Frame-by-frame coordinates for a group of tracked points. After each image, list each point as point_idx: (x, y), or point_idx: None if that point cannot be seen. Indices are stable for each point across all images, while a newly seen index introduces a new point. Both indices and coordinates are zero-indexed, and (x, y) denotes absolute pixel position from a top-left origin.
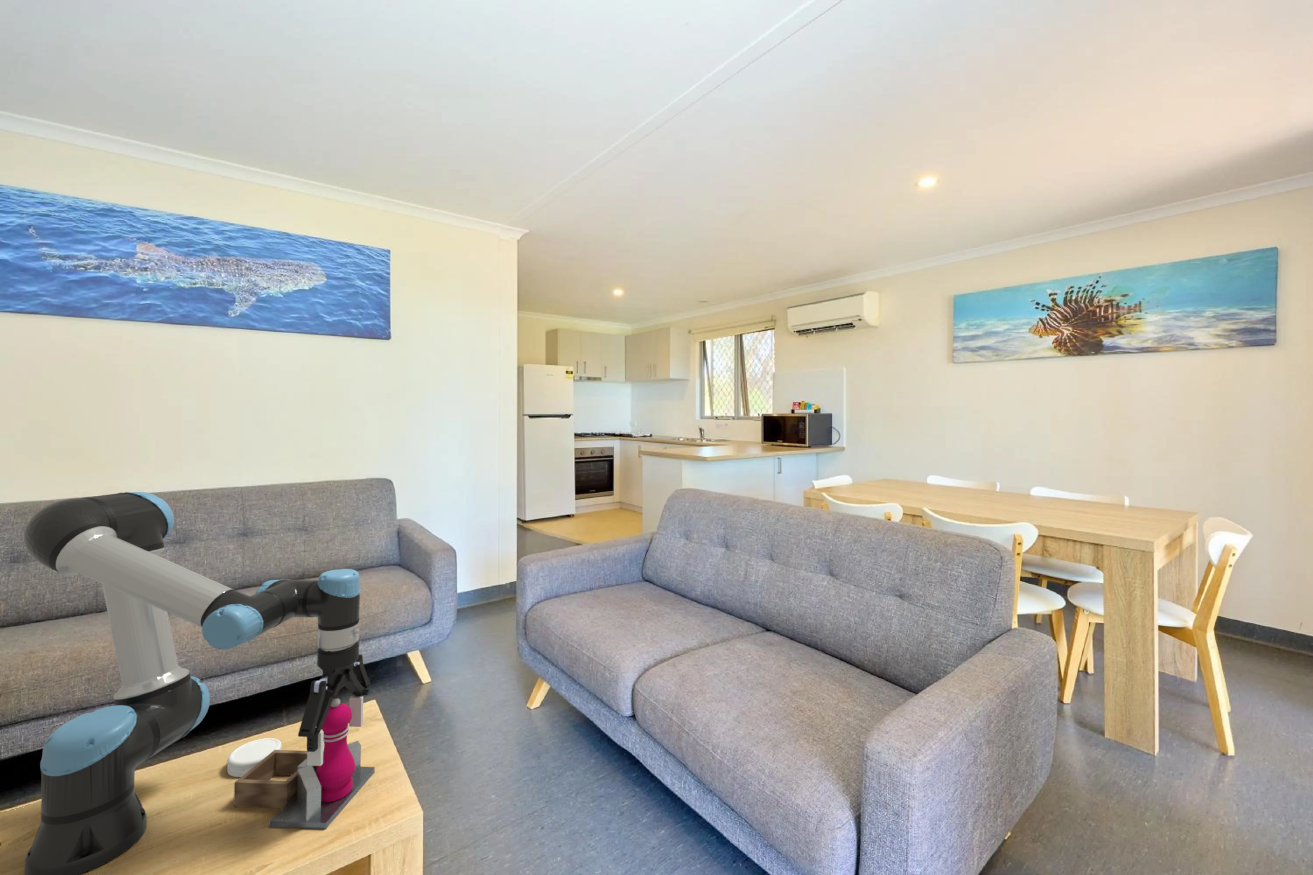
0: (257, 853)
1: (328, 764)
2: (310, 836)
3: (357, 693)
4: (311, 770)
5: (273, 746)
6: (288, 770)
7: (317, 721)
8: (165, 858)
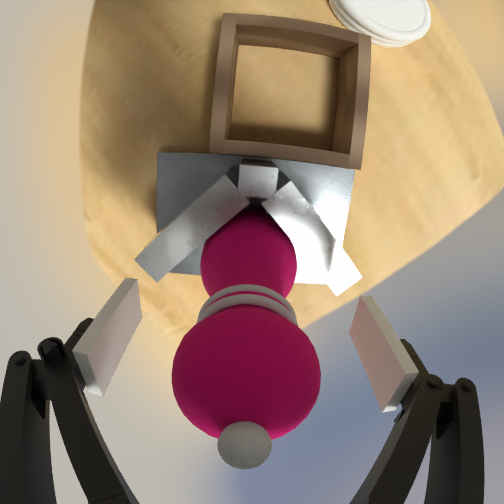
0: (102, 180)
1: (207, 283)
2: (143, 248)
3: (410, 402)
4: (219, 220)
5: (404, 26)
6: (340, 85)
7: (48, 430)
8: (99, 35)
